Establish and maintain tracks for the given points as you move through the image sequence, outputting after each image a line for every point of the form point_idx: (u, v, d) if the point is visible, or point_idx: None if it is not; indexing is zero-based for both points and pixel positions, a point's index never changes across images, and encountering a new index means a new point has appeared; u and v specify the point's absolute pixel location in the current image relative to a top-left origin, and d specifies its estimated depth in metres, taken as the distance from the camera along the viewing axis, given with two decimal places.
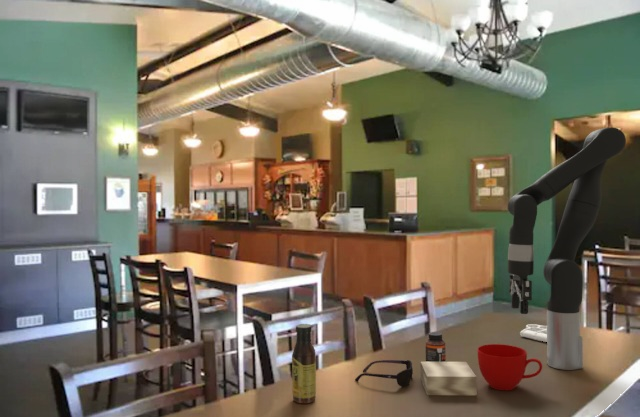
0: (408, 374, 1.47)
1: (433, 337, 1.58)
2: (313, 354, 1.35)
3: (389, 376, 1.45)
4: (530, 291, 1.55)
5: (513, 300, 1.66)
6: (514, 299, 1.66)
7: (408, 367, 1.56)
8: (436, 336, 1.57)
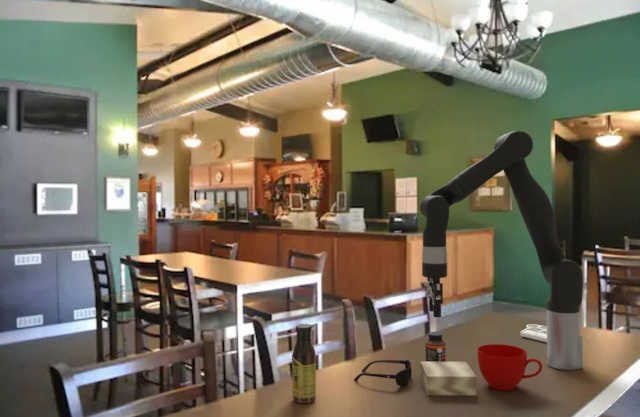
0: (407, 374, 1.47)
1: (433, 337, 1.58)
2: (313, 354, 1.35)
3: (388, 376, 1.45)
4: (441, 294, 1.52)
5: (430, 303, 1.63)
6: (431, 302, 1.63)
7: (407, 367, 1.56)
8: (436, 336, 1.57)
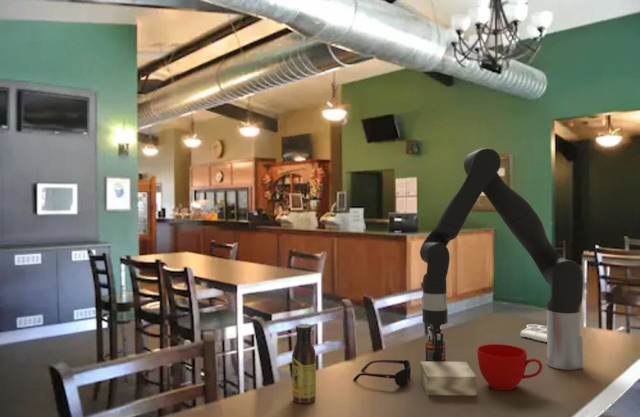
0: (406, 374, 1.47)
1: None
2: (313, 354, 1.35)
3: (387, 376, 1.45)
4: (441, 344, 1.53)
5: None
6: None
7: (406, 367, 1.56)
8: None
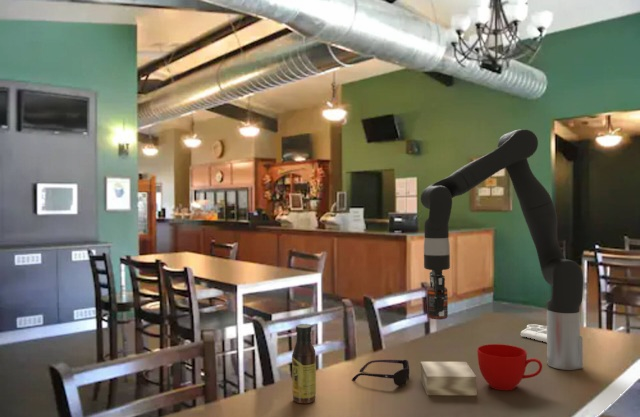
0: (405, 374, 1.48)
1: None
2: (313, 354, 1.35)
3: (386, 376, 1.45)
4: (443, 289, 1.49)
5: None
6: None
7: (405, 367, 1.56)
8: None
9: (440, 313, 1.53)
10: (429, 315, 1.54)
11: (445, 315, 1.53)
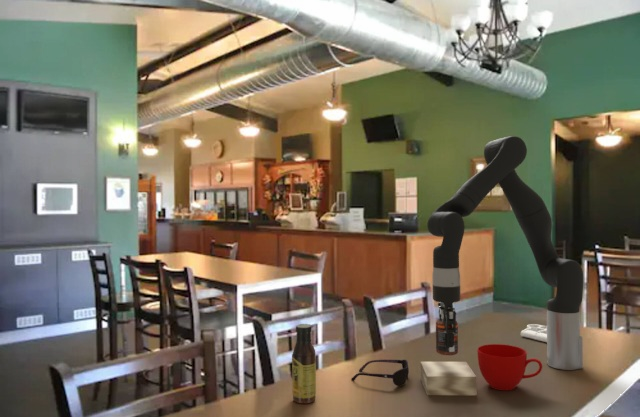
0: (404, 373, 1.48)
1: None
2: (313, 354, 1.35)
3: (385, 375, 1.45)
4: (454, 323, 1.39)
5: None
6: None
7: (404, 366, 1.56)
8: None
9: (450, 349, 1.42)
10: (438, 350, 1.44)
11: (455, 350, 1.43)
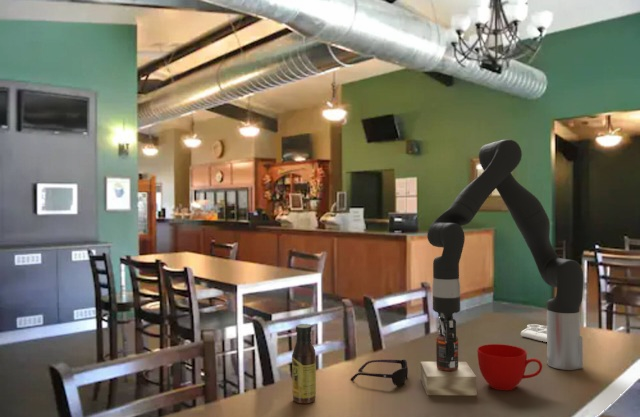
0: (403, 373, 1.48)
1: None
2: (313, 354, 1.35)
3: (384, 375, 1.46)
4: (454, 332, 1.38)
5: None
6: None
7: (403, 366, 1.56)
8: None
9: (451, 364, 1.42)
10: (439, 366, 1.44)
11: (456, 366, 1.43)
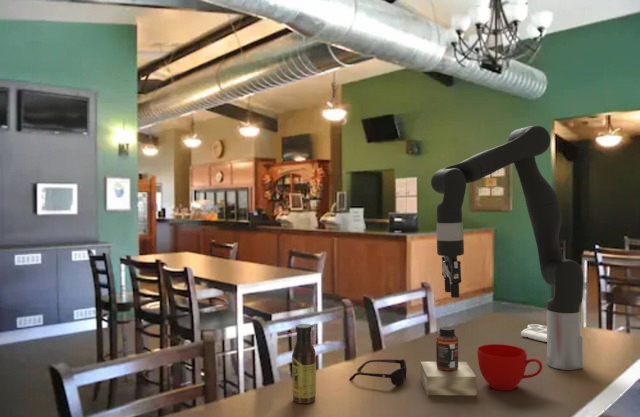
0: (402, 373, 1.48)
1: (445, 332, 1.44)
2: (313, 354, 1.35)
3: (383, 375, 1.46)
4: (459, 272, 1.43)
5: (446, 284, 1.54)
6: (447, 282, 1.54)
7: (402, 366, 1.57)
8: (448, 331, 1.43)
9: (451, 364, 1.42)
10: (439, 366, 1.44)
11: (456, 366, 1.43)
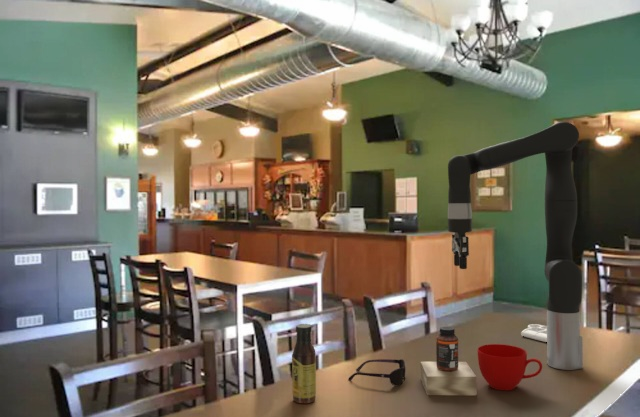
0: (401, 373, 1.48)
1: (445, 332, 1.44)
2: (313, 354, 1.35)
3: (382, 375, 1.46)
4: (467, 246, 1.62)
5: (455, 258, 1.73)
6: (456, 257, 1.73)
7: (401, 366, 1.57)
8: (448, 331, 1.43)
9: (451, 364, 1.43)
10: (439, 366, 1.44)
11: (456, 366, 1.43)
